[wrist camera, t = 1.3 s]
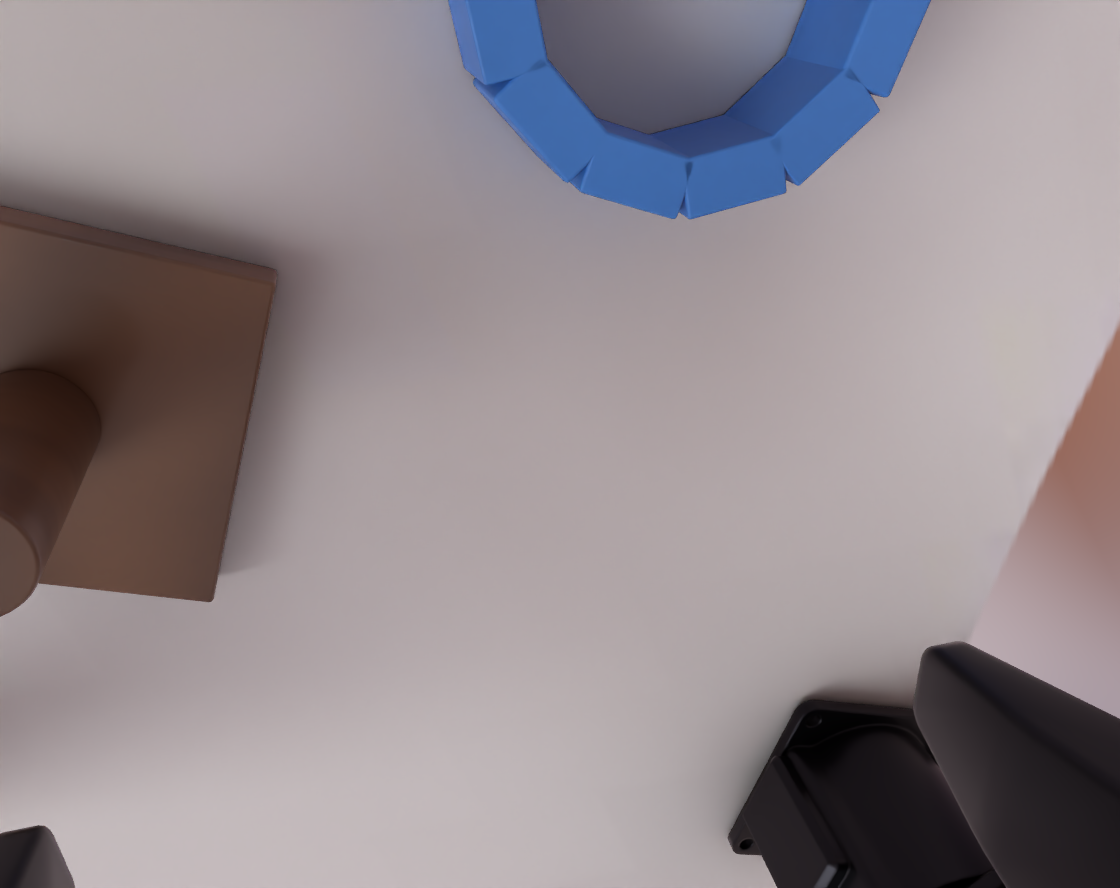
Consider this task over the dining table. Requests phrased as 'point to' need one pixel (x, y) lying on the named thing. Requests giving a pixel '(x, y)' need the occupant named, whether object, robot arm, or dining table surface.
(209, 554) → the stand
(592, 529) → the dining table surface
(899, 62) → the tape roll
